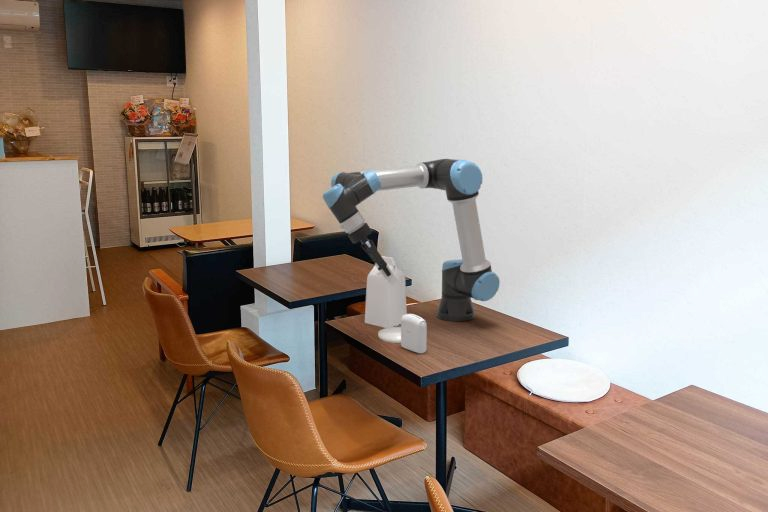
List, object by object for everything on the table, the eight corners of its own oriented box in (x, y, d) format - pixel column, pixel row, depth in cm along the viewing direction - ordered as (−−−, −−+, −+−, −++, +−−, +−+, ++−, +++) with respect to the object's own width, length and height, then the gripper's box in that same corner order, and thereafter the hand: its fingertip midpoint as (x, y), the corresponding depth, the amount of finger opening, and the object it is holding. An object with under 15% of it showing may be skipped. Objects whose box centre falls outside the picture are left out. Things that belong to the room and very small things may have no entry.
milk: (407, 321, 257) (407, 256, 252) (388, 328, 248) (389, 261, 243) (383, 316, 264) (383, 252, 259) (364, 322, 256) (364, 257, 250)
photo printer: (398, 346, 228) (399, 312, 226) (408, 344, 231) (408, 310, 228) (418, 355, 220) (419, 319, 218) (428, 352, 223) (428, 317, 221)
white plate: (418, 330, 247) (418, 327, 247) (420, 343, 232) (420, 340, 232) (378, 329, 247) (378, 326, 247) (377, 342, 232) (377, 339, 232)
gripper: (343, 231, 228) (377, 280, 232) (350, 237, 204) (387, 293, 208) (361, 219, 229) (394, 268, 233) (370, 224, 204) (407, 279, 208)
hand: (391, 280), depth 220 cm, fingers open, 13 cm apart
